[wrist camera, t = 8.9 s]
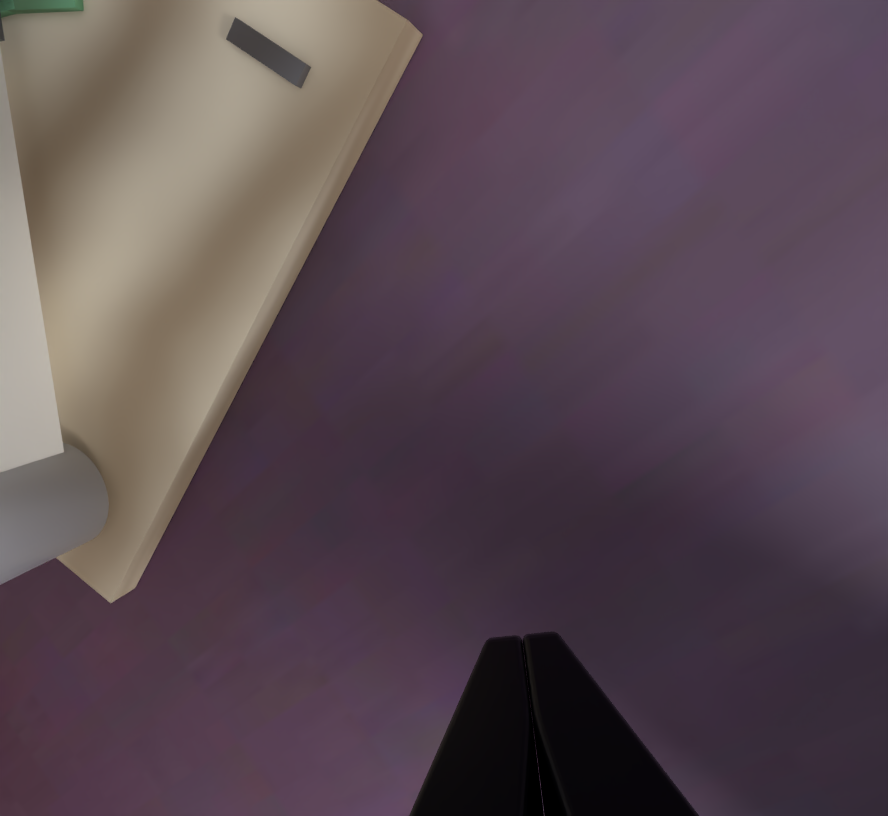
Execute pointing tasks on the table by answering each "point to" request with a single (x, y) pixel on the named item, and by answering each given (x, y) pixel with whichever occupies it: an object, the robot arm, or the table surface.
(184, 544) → the table surface
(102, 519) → the white panel grey edge
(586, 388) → the table surface
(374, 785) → the table surface
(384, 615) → the table surface
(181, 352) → the board
